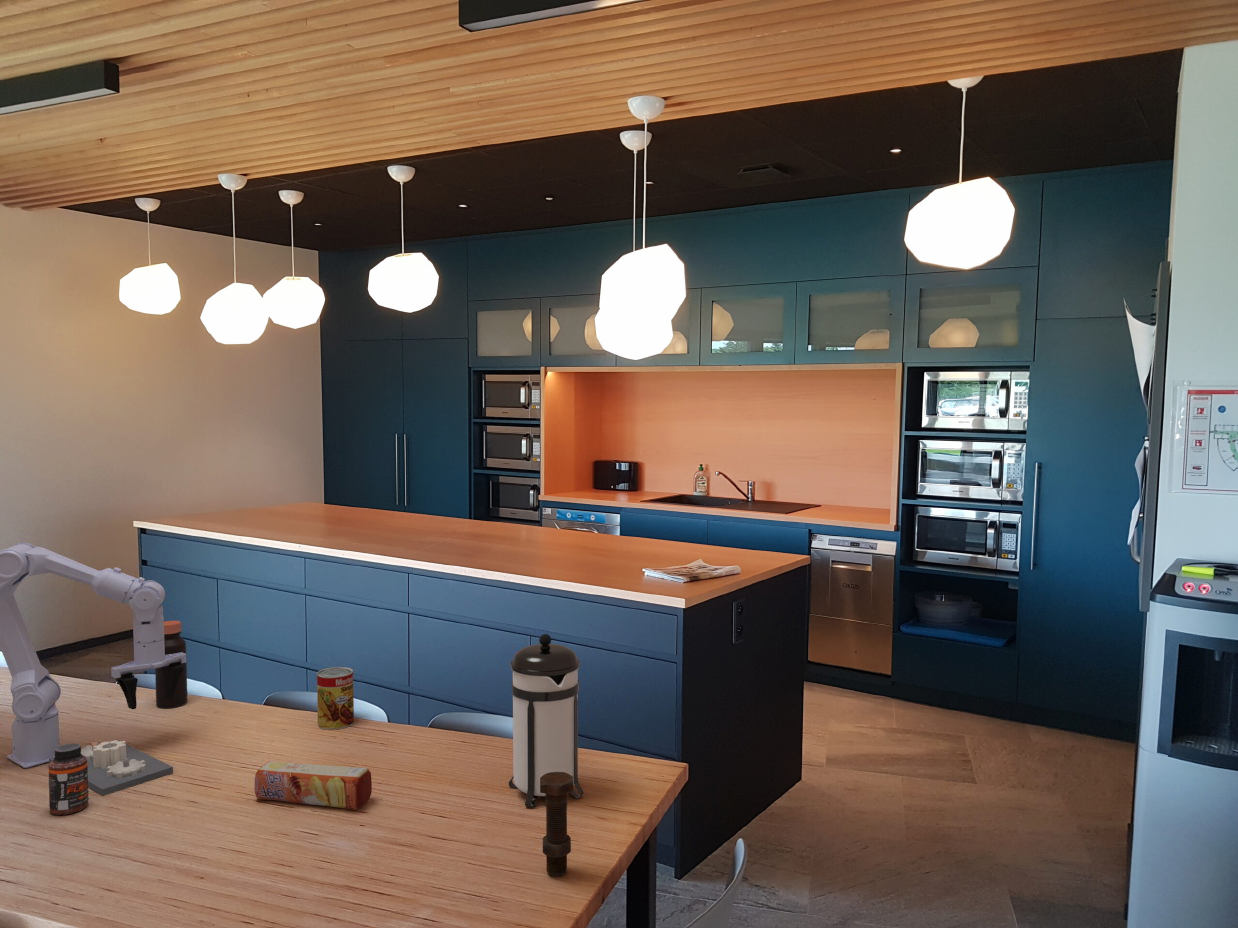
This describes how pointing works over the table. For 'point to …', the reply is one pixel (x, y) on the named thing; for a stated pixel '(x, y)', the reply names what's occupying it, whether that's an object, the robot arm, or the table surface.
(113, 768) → the gear board
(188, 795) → the table surface
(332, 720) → the canned food
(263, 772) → the snack package
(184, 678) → the vinegar
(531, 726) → the coffee press
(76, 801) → the supplement bottle
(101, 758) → the idler gear
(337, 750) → the table surface
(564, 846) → the bolt
